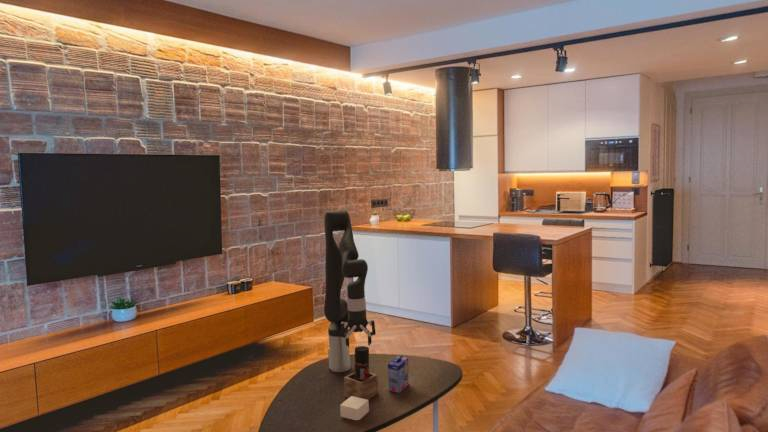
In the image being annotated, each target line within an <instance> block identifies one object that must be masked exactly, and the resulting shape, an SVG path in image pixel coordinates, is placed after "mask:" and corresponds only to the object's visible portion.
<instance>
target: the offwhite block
mask: <svg viewBox="0 0 768 432" xmlns="http://www.w3.org/2000/svg"><path fill="white" fill-rule="evenodd" d="M369 406H370V405H369V399H368V400H367V399H362V398H358V397H354V396H351V397H349V398H348V397H347V399H346V400H344V401H343V402H341V404H340V405H339V410H340V417H341V418H345V419H350V420H353V421H356V420H359V421H360V420H361V419H362V418H363V417H365V416H366V415H367V414H368V413H369V412H370V407H369Z"/></svg>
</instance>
